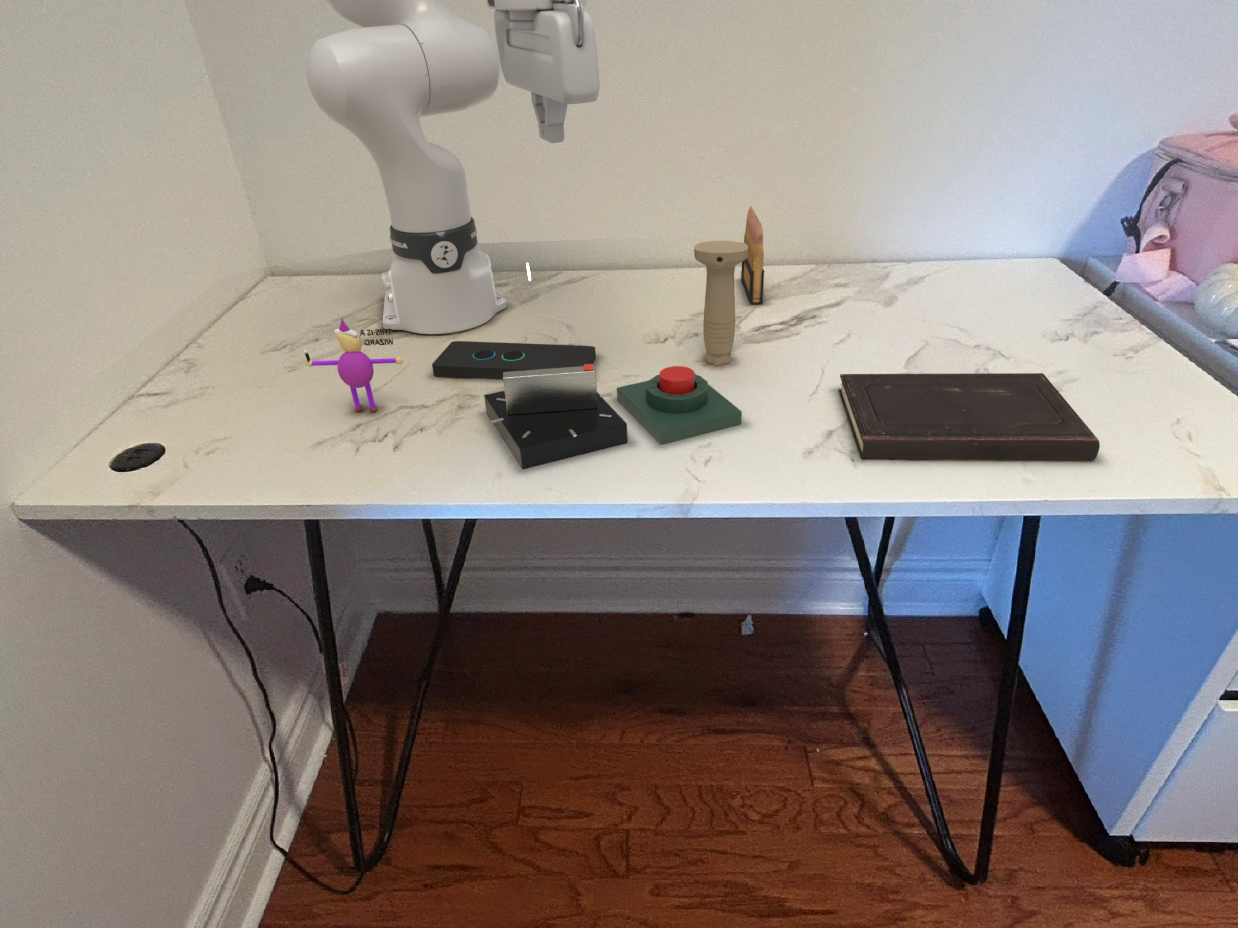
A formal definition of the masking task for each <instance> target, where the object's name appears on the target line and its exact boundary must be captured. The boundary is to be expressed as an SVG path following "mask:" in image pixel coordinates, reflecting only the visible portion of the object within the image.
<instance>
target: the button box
mask: <svg viewBox="0 0 1238 928" xmlns="http://www.w3.org/2000/svg"><path fill="white" fill-rule="evenodd" d="M616 400H617V401H618V403H619V404H620V405H621V406H622V407H623V408H624V409H625V410H626V411H627V412H628V413H629V414H630V415H631V416H632V417H633V418H634V419H635V420H636V421H637V422H638V423H639V424H640V425H641V427H643V429H645V431H646V432H647V433H648V434H649V435H650V436H651V437H652V438H653V439H654V440H655V441H656V442H657V443H658V444H659V445H660V446H663V445H668V444H671V443H675V442H679V441H682V440H686V439H690V438H694V437H698V436H703V435H706V434H710V433H714V432H718V431H721V430H725V429H726V430H727V429H730V428H733V427H737V426H740V425H742V417H743V416H742V415H743V411H742V410H741V409H739V408H738V407H737V406H736V405H734V403H732V402H730V400H729V399H727V398H726V397H724V396H723V395H722V394H721V393H720V392H718V391H717V390H716V389H715V388H714V387H712V386H711V385H710V384H709V382H708V381H707V380H706V379H705V378H704V377H702V376H701V375H699V374H696V373H695V389H694V390H693V391H692V392H689V393H685V394H668V393H665V392H661V390H660V387H659V374H656V375H654V376H653V377H651V378H650V379H649V380H645V381H641V382H635V383H632V384H627V385H623V386H622V385H621V386H619V387H616Z"/></svg>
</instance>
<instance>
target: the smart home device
mask: <svg viewBox="0 0 1238 928" xmlns="http://www.w3.org/2000/svg"><path fill="white" fill-rule="evenodd" d="M596 354H597V353H596V347H595V346H593V345H581V344H579V345H577V344H552V343H550V344H549V343H528V342H527V343H526V342H525V343H523V342H497V341H469V340H468V341H467V340H454V341H451V342H450V343H449V344H448V345H447V346H446V347H445V349H444V350H443V351H442V352H441V353H440V354H439V355H438V357H436V359H435V360H434V361H433V362H432V363H431V367H432V372H433V376H434V377H438V378H439V377H441V378H459V379H460V378H461V379H480V380H481V379H482V380H483V379H484V380H502V381H503V372H511V371H524V370H538V369H551V368H565V367H578V366H584V364H593V365H594V363H595V361H596V359H597V355H596Z"/></svg>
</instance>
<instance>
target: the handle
mask: <svg viewBox="0 0 1238 928" xmlns="http://www.w3.org/2000/svg"><path fill="white" fill-rule="evenodd" d="M693 248H694V249H693V255H694V259H695V260H696V261H697V262H699V263H701V264H702V265H704V266H705V269H706V281H705V294H704V295H705V296H704V308H703V323H702V325H703V343H704V348H705V351H706V353H705V361H706V362H707V363H708V364H712V365H714V366H717V367H718V366H721V365H729V364H730V363H731V358H732V350H733V346H734V341H735V333H736V303H735V302H736V297H735V296H736V295H735V270H736V266H737V265H739V264H742V262H743V261H744V260H745V259H746V258H747V256H748V245H747V244H745V243H744V242H741V241H735V240H733V241H732V240H710V241H709V240H708V241H701V242H698V243H696V244H694V246H693Z"/></svg>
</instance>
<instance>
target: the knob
mask: <svg viewBox="0 0 1238 928" xmlns="http://www.w3.org/2000/svg"><path fill="white" fill-rule="evenodd" d="M502 381H503V389H504V390H503V391H505V398H506V406H507V414H508V415H510V414H523V413H536V412H549V411H562V410H575V409H588V408H598V404H597V392H598V389H597V387H598V386H597V371H596V365H595V364H594V363H593V364H584V366H578V367H565V368H551V369H538V370H524V371H511V372H503V380H502Z"/></svg>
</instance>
